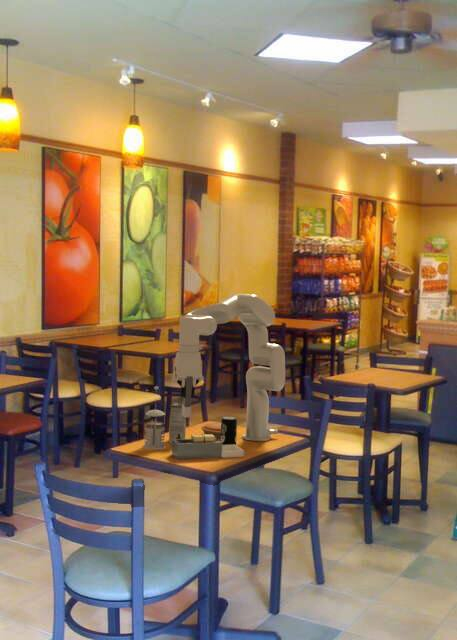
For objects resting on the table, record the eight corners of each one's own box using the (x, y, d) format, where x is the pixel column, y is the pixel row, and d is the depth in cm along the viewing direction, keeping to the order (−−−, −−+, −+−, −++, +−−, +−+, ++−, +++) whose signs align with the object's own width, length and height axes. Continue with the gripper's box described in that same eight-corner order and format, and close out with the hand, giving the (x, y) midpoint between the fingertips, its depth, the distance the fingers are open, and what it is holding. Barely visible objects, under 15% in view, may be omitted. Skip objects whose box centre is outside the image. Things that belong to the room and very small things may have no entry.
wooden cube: (211, 444, 306) (211, 434, 306) (214, 446, 303) (214, 436, 302) (201, 444, 305) (202, 434, 305) (204, 446, 301) (205, 436, 301)
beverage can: (234, 448, 318) (235, 419, 317) (218, 447, 319) (219, 418, 318) (237, 444, 324) (238, 416, 323) (222, 443, 326) (223, 415, 325)
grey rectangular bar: (187, 413, 298) (190, 373, 295) (190, 417, 294) (193, 376, 291) (181, 414, 297) (184, 374, 294) (184, 417, 293) (187, 377, 290)
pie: (201, 431, 348) (201, 420, 348) (235, 433, 348) (236, 422, 348) (199, 439, 333) (200, 427, 332) (235, 440, 332) (236, 429, 332)
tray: (234, 450, 314) (234, 444, 314) (244, 457, 304) (244, 450, 304) (213, 451, 311) (213, 445, 311) (222, 458, 301) (222, 451, 301)
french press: (167, 444, 320) (169, 384, 318) (165, 451, 308) (167, 389, 307) (143, 443, 320) (145, 383, 318) (140, 450, 308) (142, 388, 307)
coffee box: (170, 439, 330) (172, 401, 329) (185, 439, 330) (186, 402, 329) (168, 443, 321) (169, 405, 320) (183, 444, 321) (185, 406, 320)
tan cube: (200, 444, 305) (200, 434, 305) (203, 446, 301) (203, 436, 301) (190, 444, 303) (191, 434, 303) (193, 447, 300) (194, 437, 299)
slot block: (215, 452, 309) (215, 437, 309) (221, 457, 302) (222, 442, 301) (171, 454, 303) (172, 439, 303) (177, 459, 296) (177, 444, 295)
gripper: (205, 347, 299) (204, 394, 300) (165, 348, 293) (164, 395, 295) (212, 350, 292) (210, 398, 293) (171, 350, 286) (169, 399, 288)
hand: (187, 396), depth 294 cm, fingers closed on grey rectangular bar, 2 cm apart
